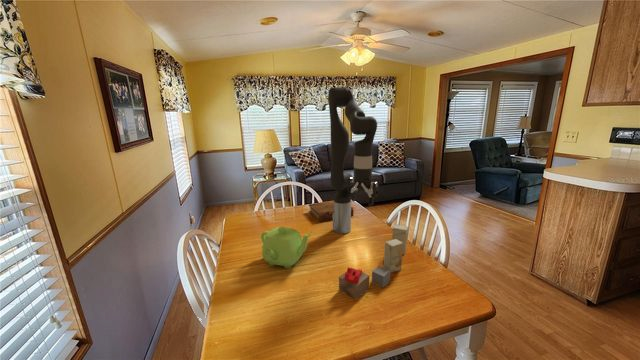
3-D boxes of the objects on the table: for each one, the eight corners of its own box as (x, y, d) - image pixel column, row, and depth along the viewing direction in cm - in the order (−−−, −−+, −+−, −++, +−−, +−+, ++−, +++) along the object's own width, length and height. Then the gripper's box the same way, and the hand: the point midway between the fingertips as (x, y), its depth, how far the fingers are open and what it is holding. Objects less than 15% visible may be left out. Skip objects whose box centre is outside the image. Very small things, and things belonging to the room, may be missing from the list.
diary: (319, 223, 161) (319, 214, 159) (309, 212, 178) (308, 204, 176) (353, 216, 169) (353, 207, 168) (340, 206, 186) (340, 199, 184)
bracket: (358, 283, 95) (358, 276, 94) (344, 281, 96) (344, 273, 96) (362, 273, 101) (362, 266, 100) (349, 271, 102) (349, 264, 102)
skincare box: (390, 273, 110) (391, 246, 106) (383, 268, 113) (384, 241, 110) (402, 269, 112) (403, 242, 109) (394, 263, 116) (396, 238, 113)
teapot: (245, 273, 113) (242, 238, 109) (271, 248, 132) (269, 218, 128) (300, 284, 104) (298, 248, 100) (319, 256, 124) (318, 224, 120)
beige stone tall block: (391, 251, 126) (392, 227, 123) (393, 247, 130) (394, 224, 127) (404, 254, 123) (406, 230, 120) (406, 250, 127) (408, 226, 124)
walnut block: (339, 290, 100) (338, 276, 99) (351, 280, 106) (351, 267, 105) (356, 300, 95) (356, 285, 94) (369, 289, 101) (369, 275, 99)
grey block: (371, 282, 105) (372, 271, 103) (378, 276, 108) (379, 265, 107) (383, 288, 101) (383, 276, 100) (389, 281, 105) (390, 270, 103)
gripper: (343, 165, 113) (343, 201, 118) (372, 170, 104) (371, 209, 108) (354, 162, 119) (354, 197, 123) (382, 166, 109) (381, 204, 113)
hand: (362, 203), depth 115 cm, fingers open, 8 cm apart
